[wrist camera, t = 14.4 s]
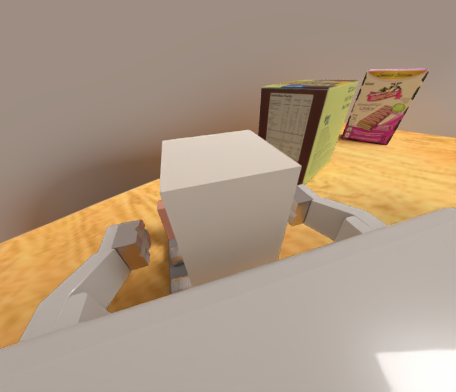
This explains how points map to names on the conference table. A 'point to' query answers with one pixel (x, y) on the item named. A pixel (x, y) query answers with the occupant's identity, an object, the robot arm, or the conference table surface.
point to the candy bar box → (382, 104)
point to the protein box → (305, 120)
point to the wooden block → (226, 201)
